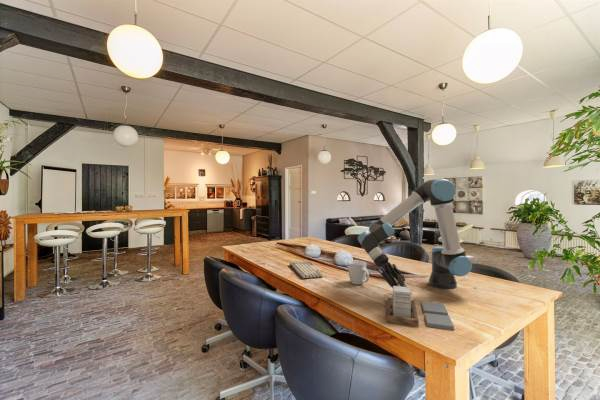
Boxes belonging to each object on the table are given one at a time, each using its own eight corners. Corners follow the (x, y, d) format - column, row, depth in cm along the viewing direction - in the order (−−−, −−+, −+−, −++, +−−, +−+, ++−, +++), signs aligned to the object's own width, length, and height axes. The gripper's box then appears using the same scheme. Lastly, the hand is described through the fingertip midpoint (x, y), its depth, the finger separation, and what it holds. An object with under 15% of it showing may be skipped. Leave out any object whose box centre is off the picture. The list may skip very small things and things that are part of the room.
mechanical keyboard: (327, 278, 182) (327, 273, 182) (300, 281, 177) (300, 276, 177) (309, 264, 218) (309, 260, 218) (286, 266, 213) (286, 262, 213)
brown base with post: (414, 303, 139) (414, 274, 138) (418, 326, 115) (418, 292, 114) (387, 300, 143) (387, 272, 142) (386, 322, 119) (386, 289, 118)
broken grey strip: (443, 306, 134) (443, 303, 134) (453, 330, 112) (454, 326, 112) (421, 304, 138) (421, 301, 137) (427, 326, 115) (427, 322, 115)
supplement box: (392, 311, 129) (392, 285, 129) (409, 313, 127) (409, 286, 127) (393, 318, 122) (393, 290, 122) (411, 320, 120) (411, 292, 120)
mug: (374, 285, 165) (374, 264, 165) (362, 289, 159) (362, 267, 159) (357, 279, 177) (357, 259, 177) (344, 282, 171) (344, 261, 171)
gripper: (383, 258, 155) (411, 295, 143) (365, 263, 143) (393, 304, 131) (391, 250, 150) (421, 287, 138) (373, 255, 139) (404, 296, 127)
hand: (407, 295), depth 135 cm, fingers closed on brown base with post, 4 cm apart
